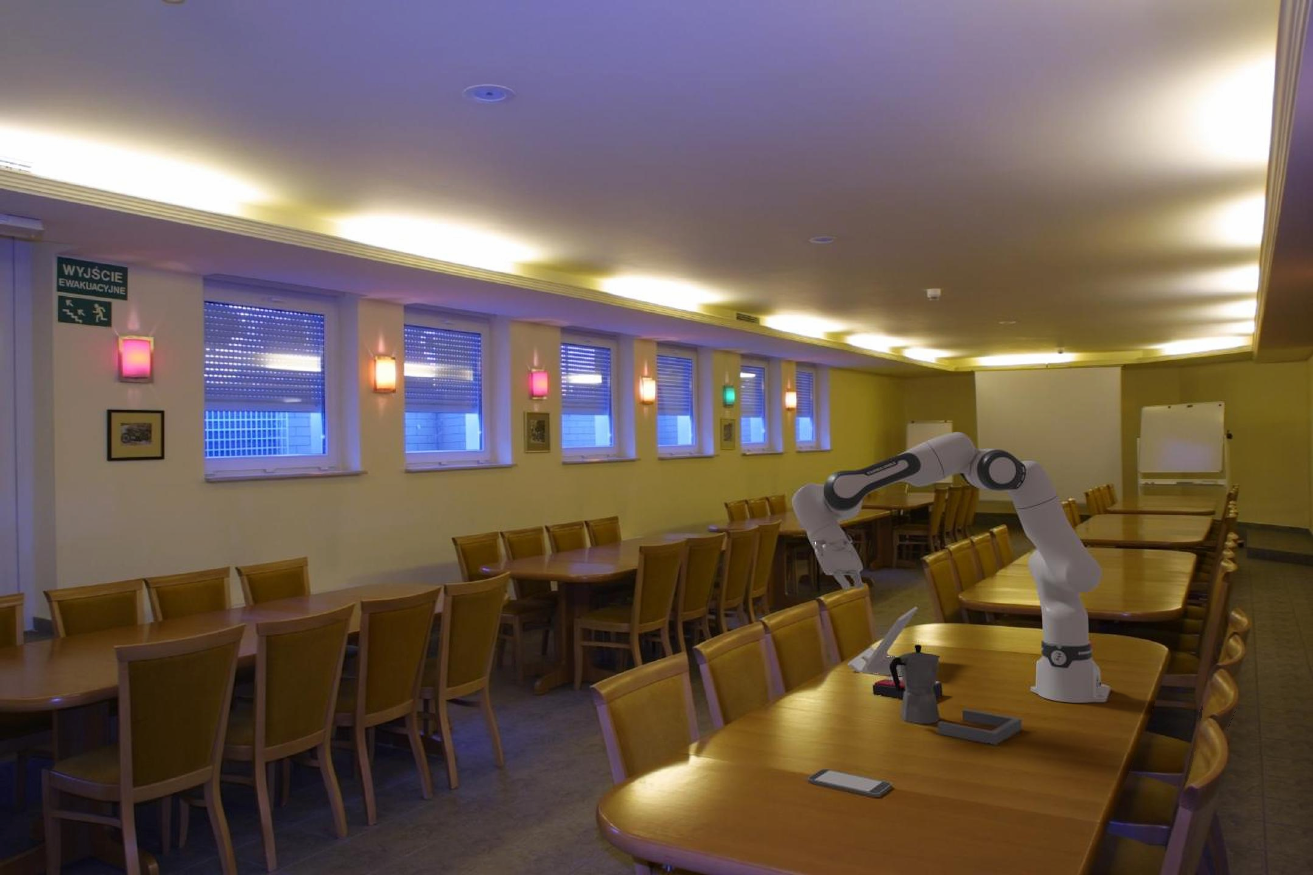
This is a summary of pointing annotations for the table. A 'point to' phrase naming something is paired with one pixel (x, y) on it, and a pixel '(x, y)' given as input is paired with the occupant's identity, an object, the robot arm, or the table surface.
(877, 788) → the smartphone
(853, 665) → the tablet stand
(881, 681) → the calculator
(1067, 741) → the table surface
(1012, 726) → the dock
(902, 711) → the coffeepot
